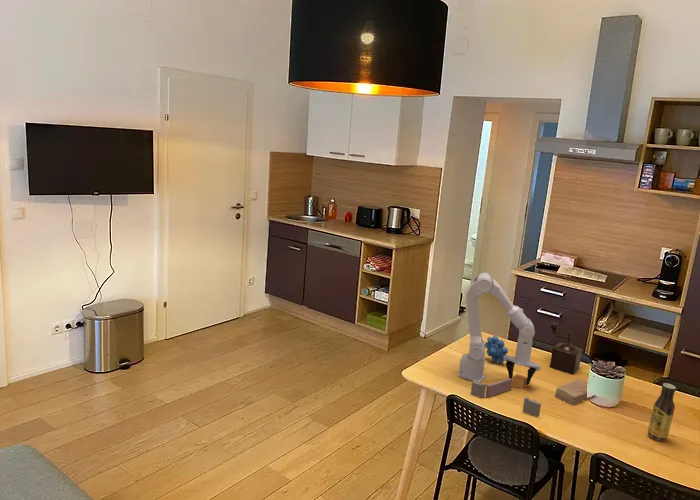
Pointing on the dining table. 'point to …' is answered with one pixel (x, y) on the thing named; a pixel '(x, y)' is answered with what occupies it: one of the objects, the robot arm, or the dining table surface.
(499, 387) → the door
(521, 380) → the orange brown block
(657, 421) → the sauce bottle
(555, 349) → the manual coffee grinder
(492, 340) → the grapes
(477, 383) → the wall frame
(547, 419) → the dining table surface
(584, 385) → the brick
